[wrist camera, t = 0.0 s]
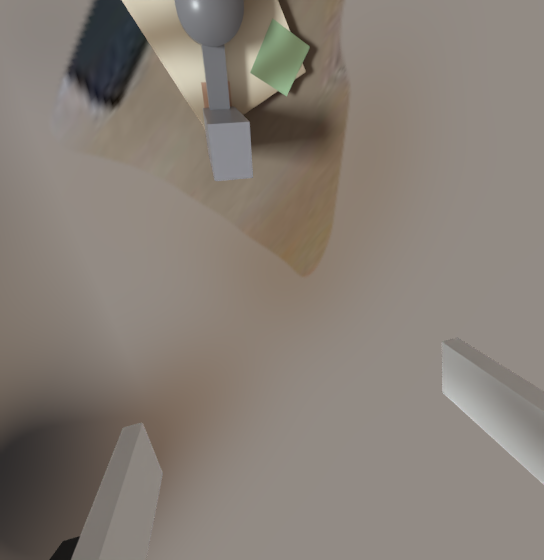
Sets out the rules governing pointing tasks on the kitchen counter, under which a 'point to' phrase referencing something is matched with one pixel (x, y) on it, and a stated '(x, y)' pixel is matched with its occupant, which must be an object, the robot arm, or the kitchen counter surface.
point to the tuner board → (226, 53)
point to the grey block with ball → (219, 84)
